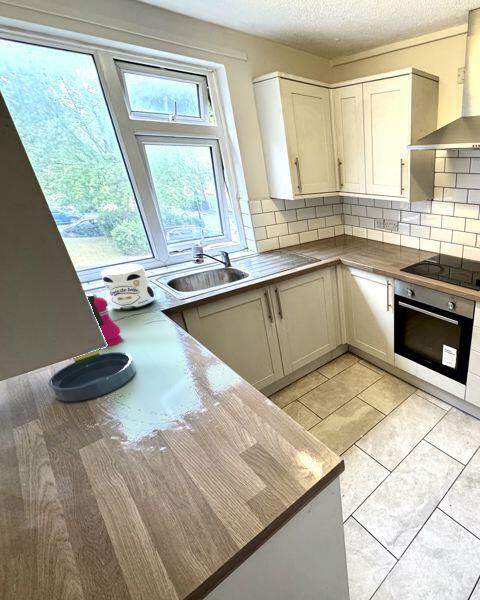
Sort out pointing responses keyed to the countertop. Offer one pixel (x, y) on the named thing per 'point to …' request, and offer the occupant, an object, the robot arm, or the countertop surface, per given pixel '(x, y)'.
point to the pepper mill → (107, 322)
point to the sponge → (87, 357)
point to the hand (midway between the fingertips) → (85, 352)
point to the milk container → (127, 287)
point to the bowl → (92, 377)
